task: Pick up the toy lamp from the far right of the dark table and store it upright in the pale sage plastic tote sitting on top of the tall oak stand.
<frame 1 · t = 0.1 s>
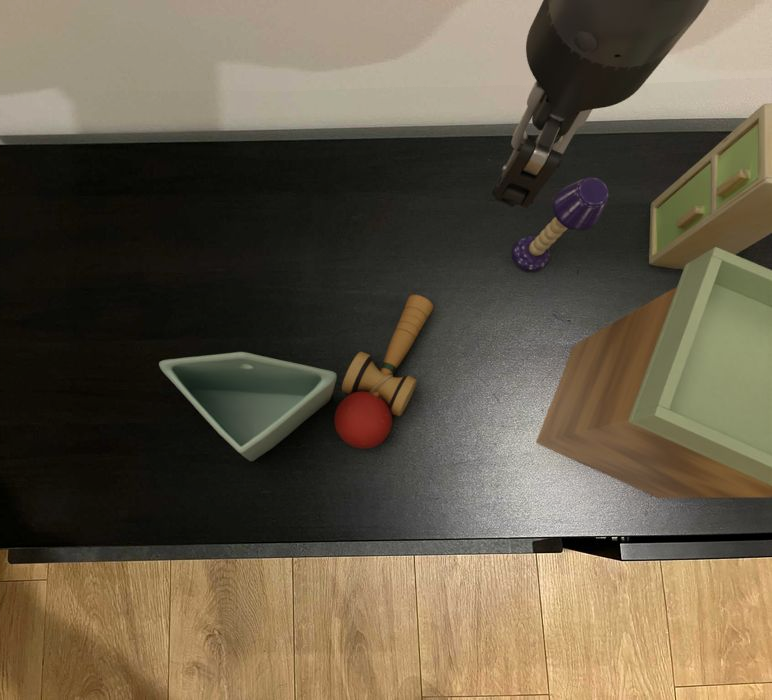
hand: (525, 150, 53), 27 cm above the table, tool pointing down, fingers open, 8 cm apart
stand: (615, 419, 76), on the table
kendama: (383, 373, 77), on the table
planter: (254, 424, 76), on the table
toy lamp: (532, 255, 80), on the table
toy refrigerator: (672, 237, 81), on the table
tote: (754, 383, 52), resting on stand
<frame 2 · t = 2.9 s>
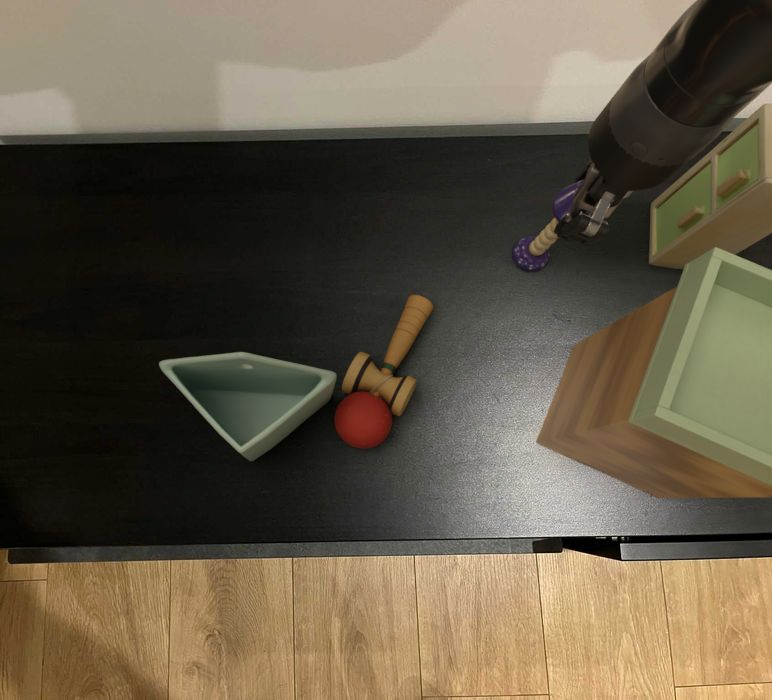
hand: (573, 210, 68), 12 cm above the table, tool pointing down, fingers closed on toy lamp, 4 cm apart
toy lamp: (532, 255, 80), on the table, touching gripper
everything else where it was.
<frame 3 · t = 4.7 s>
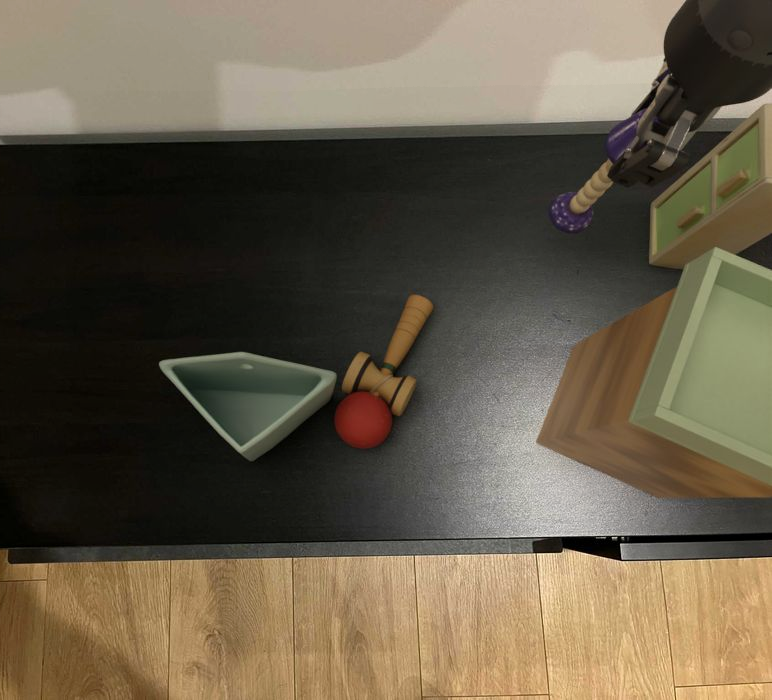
hand: (630, 150, 56), 24 cm above the table, tool pointing down, fingers closed on toy lamp, 4 cm apart
toy lamp: (572, 214, 68), point 12 cm above the table, touching gripper
everything else where it was.
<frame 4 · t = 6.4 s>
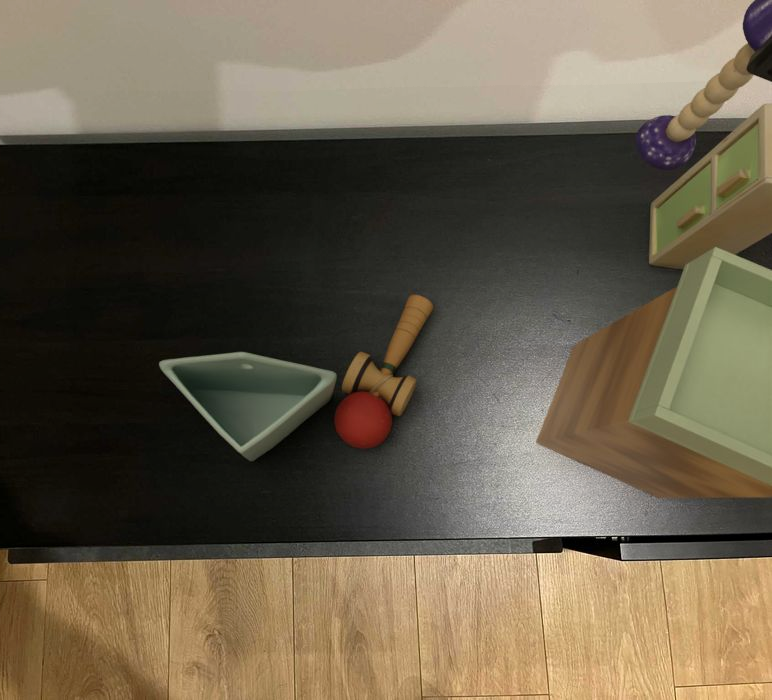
toy lamp: (666, 146, 52), point 28 cm above the table, touching gripper
everything else where it was.
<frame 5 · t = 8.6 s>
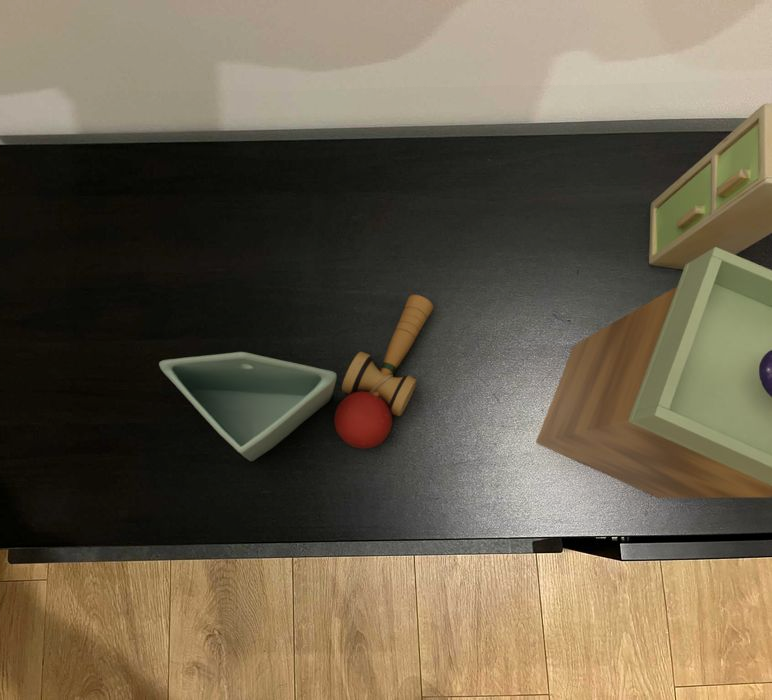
when the fingers open (37 cm above the table, at t = 10.1 s): toy lamp stays where it is, resting on tote.
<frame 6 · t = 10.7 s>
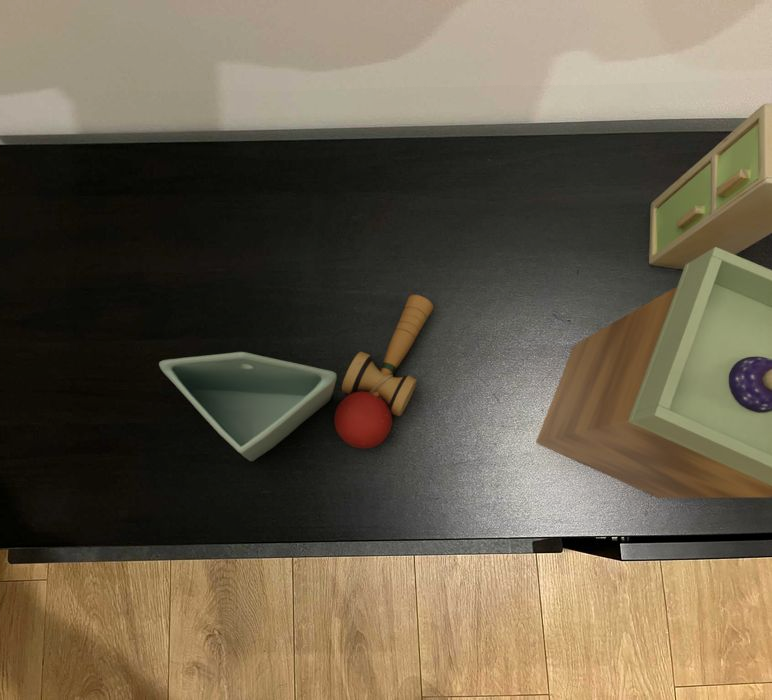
toy lamp: (759, 384, 52), point 24 cm above the table, touching tote
everything else where it was.
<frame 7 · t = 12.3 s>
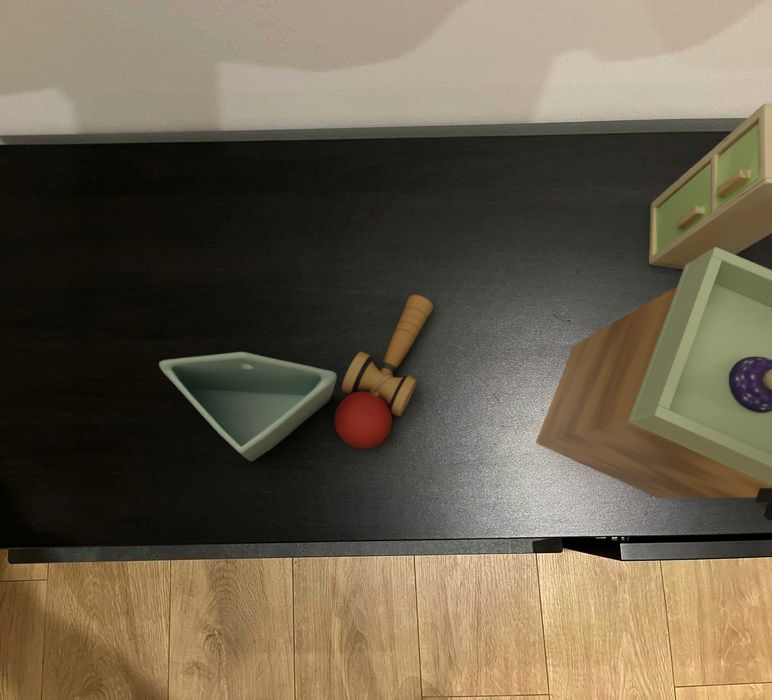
nothing on the table moved.
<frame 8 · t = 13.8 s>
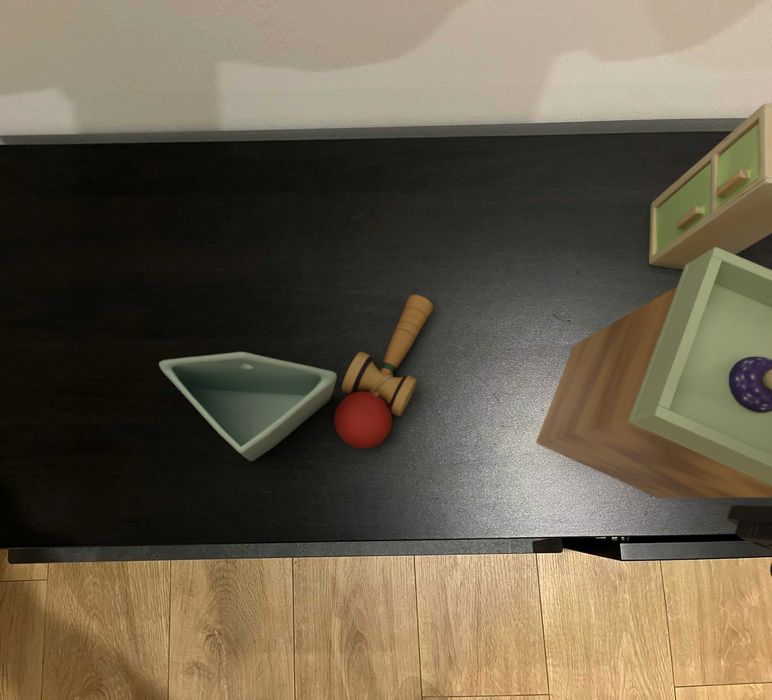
nothing on the table moved.
at the end: toy lamp inside the target area on the tote (0.1 cm from its centre), point 0.4 cm above the tote's base; toy lamp tilted 0°; the gripper is holding nothing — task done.
